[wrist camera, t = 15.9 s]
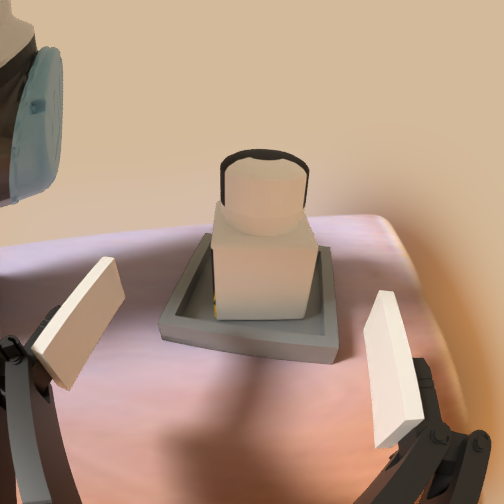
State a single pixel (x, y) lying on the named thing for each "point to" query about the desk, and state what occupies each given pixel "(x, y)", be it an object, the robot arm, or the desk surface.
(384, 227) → the desk surface
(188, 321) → the bottle tray
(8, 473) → the robot arm
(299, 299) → the medicine bottle
